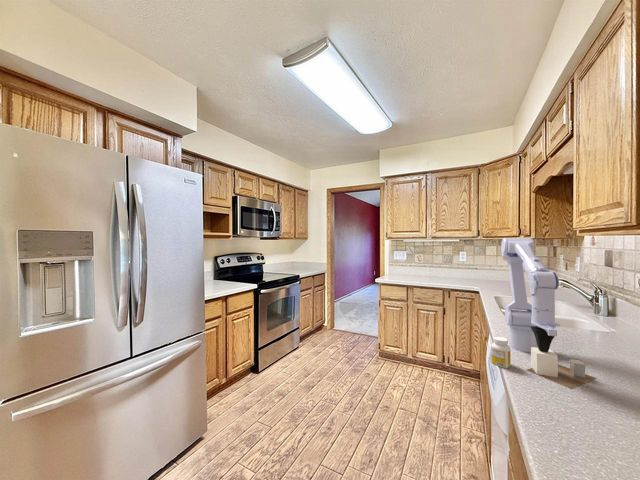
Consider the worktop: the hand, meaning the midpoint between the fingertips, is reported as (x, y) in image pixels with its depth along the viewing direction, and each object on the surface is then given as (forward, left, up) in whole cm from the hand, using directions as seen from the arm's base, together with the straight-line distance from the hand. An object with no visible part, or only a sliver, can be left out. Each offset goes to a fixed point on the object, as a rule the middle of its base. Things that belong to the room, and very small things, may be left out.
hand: (543, 350), depth 86 cm
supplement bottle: (+7, -9, -8) cm, 14 cm away
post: (-6, +6, -7) cm, 11 cm away
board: (-3, +3, -8) cm, 9 cm away
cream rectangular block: (0, 0, -7) cm, 7 cm away
